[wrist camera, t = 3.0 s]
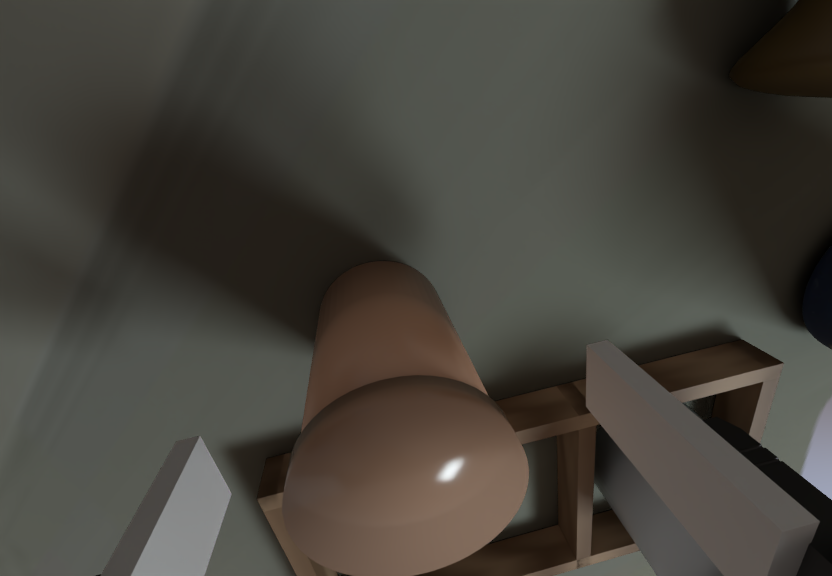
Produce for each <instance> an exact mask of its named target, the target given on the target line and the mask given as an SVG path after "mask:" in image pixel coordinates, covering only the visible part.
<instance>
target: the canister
mask: <svg viewBox="0 0 832 576" xmlns="http://www.w3.org/2000/svg"><path fill="white" fill-rule="evenodd" d="M802 313H803V319H804V322H805V325H806V327H807V329H808V331H809V332H810V333H811V334H812V335H813V337H814V338H816V339H817V340H818V341H819V342H821V343H822V344H824V345H825V346H827V347H828V348H830V349H832V245H831V246H830V247H829V249H828V250H827V251H826V253H825V254H824V255H823V257H822V258H821V259H820V261H819V262H818V264H817V265H816V267H815V269H814V271H813V273H812V275H811V277H810V279H809V281H808V284H807V287H806V290H805V293H804V298H803V312H802Z"/></svg>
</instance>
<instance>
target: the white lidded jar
mask: <svg viewBox="0 0 832 576" xmlns="http://www.w3.org/2000/svg"><path fill="white" fill-rule="evenodd" d="M682 404H683V405H685V406H686V407H687V408H688V409H689V410H690V411H692V412H693V413H694V414H695V415H696V416H697V417H699V418H700V419H701V420H704V419H703V418H702V417H700V416H699V415H698V414H697V413H696V412H694V411H693V410H692V409H691V408H690V407H689V406H687V405H686V404H685V403H682ZM594 483H595V484H596V486H597V487H598V489H599V490H600V492H601V493H602V494H603V496H604V497H605V499H606V500H607V502H608V503H609V505H610V506H611V508H612V509H613V511H614V512H615V514H616V515H617V517H618V518H619V520H620V521H621V523H622V524H623V526H624V527H625V529H626V530H627V532H628V533H629V535H630V536H631V538H632V539H633V541H634V542H635V544H636V545H637V547H638V548H639V550H640V551H641V553H642V554H643V556H644V557H645V559H646V560H647V562H648V563H649V565H650V566H651V567H652V569H653V570H654V572H655V573H656V575H657V576H723V574H722V573H721V572H720V571H719V569H718V568H717V567H716V566H715V564H714V563H713V562H712V561H711V560H710V558H709V557H708V556H707V555H706V553H705V552H704V551H703V550H702V549H701V547H700V546H699V545H698V544H697V542H696V541H695V540H694V539H693V537H692V536H691V535H690V534H689V533H688V531H687V530H686V529H685V528H684V526H683V525H682V524H681V523H680V521H679V520H678V519H677V518H676V517H675V515H674V514H673V513H672V512H671V510H670V509H669V508H668V507H667V506H666V504H665V503H664V502H663V501H662V499H661V498H660V497H659V496H658V494H657V493H656V492H655V491H654V490H653V488H652V487H651V486H650V485H649V483H648V482H647V481H646V480H645V479H644V477H643V476H642V475H641V474H640V472H639V471H638V470H637V469H636V467H635V466H634V465H633V464H632V463H631V461H630V460H629V459H628V458H627V456H626V455H625V454H624V453H623V451H622V450H621V449H620V448H619V447H618V445H617V444H616V443H615V442H614V440H613V439H612V438H611V437H610V436H609V434H608V433H607V432H606V431H605V429H604V428H603V427H601V428H600V429H599V430H598V431H597V433H596V444H595V467H594Z"/></svg>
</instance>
